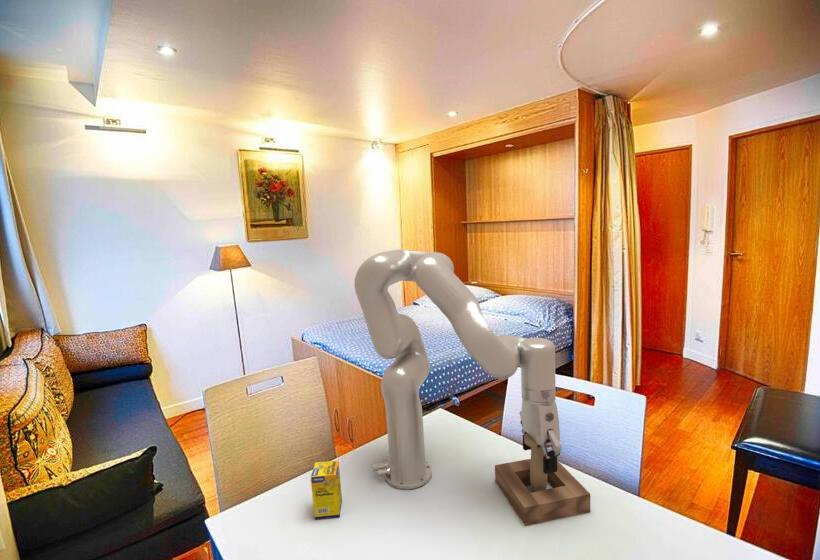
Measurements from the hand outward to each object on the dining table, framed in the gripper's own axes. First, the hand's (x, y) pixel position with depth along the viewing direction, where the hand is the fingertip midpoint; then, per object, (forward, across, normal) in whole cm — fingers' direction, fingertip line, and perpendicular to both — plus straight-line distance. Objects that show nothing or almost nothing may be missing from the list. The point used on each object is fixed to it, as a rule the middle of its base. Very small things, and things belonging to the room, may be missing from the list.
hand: (539, 460), depth 96 cm
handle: (+9, 0, 0) cm, 10 cm away
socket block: (+9, 0, 0) cm, 9 cm away
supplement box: (+10, +9, +50) cm, 52 cm away
